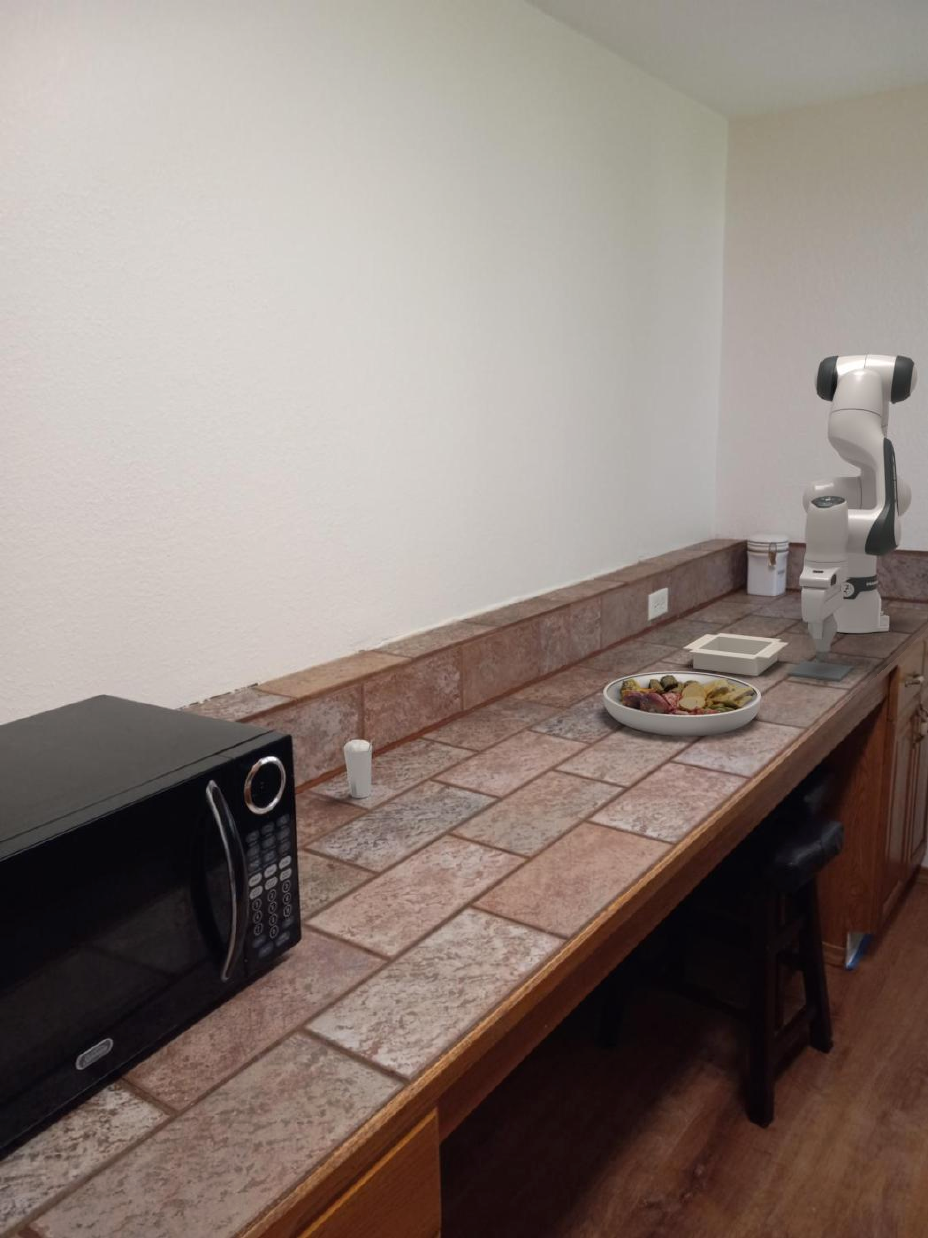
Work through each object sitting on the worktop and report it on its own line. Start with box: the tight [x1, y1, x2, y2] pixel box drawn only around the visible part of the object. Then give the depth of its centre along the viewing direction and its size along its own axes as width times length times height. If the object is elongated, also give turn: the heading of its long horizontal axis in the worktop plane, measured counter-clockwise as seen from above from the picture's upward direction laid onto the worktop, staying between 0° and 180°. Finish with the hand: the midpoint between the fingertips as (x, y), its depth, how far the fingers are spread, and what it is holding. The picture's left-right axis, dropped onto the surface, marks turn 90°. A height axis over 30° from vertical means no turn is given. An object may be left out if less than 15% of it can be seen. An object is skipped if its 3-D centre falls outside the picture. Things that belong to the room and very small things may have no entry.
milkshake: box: [343, 738, 374, 799], centre depth 159 cm, size 4×5×10 cm
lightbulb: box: [807, 615, 838, 663], centre depth 217 cm, size 6×6×11 cm
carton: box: [682, 632, 790, 677], centre depth 227 cm, size 20×20×4 cm
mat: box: [787, 660, 854, 682], centre depth 219 cm, size 11×11×1 cm
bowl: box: [602, 670, 762, 737], centre depth 193 cm, size 30×30×8 cm
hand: (822, 634), depth 217 cm, fingers closed on lightbulb, 6 cm apart
